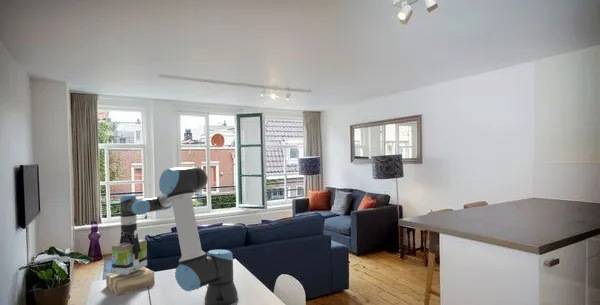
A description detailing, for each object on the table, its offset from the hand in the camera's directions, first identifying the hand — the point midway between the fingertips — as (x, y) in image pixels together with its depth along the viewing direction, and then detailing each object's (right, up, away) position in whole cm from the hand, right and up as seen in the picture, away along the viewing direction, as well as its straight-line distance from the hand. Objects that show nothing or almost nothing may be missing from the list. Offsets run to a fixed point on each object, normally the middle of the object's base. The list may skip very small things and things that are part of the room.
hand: (130, 263), depth 173 cm
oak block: (0, -12, 0) cm, 12 cm away
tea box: (0, -4, 0) cm, 4 cm away
